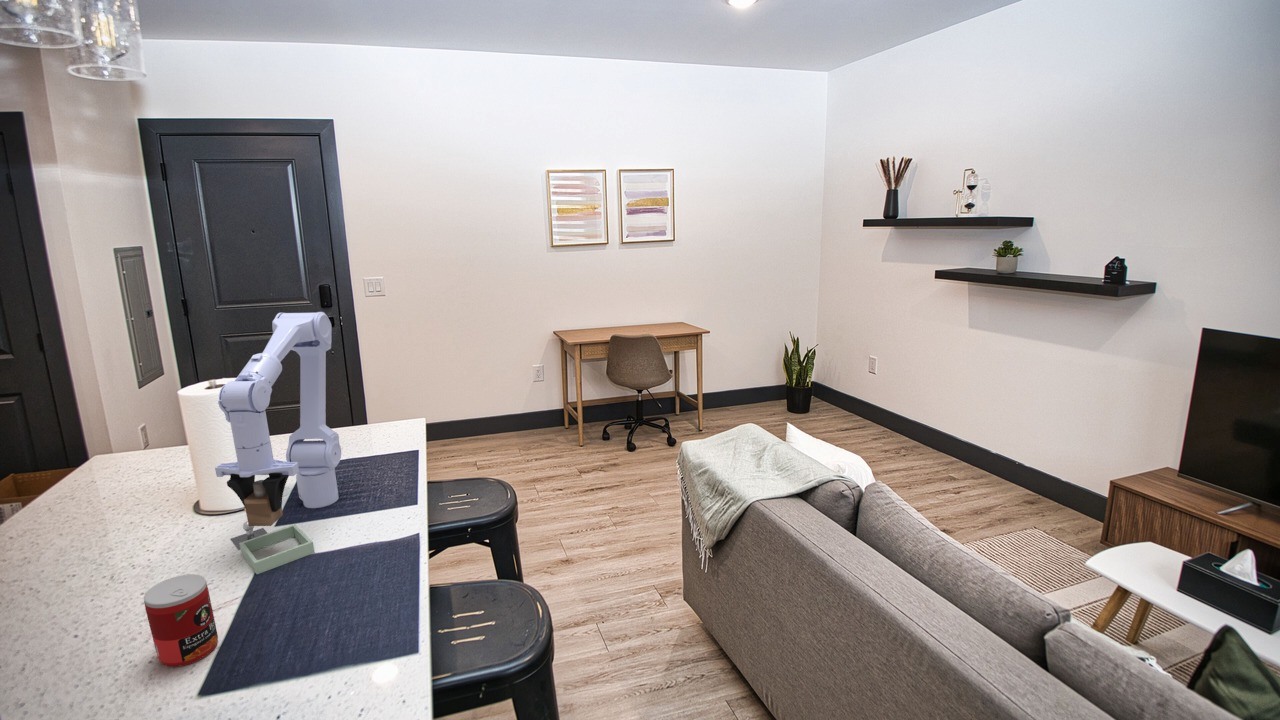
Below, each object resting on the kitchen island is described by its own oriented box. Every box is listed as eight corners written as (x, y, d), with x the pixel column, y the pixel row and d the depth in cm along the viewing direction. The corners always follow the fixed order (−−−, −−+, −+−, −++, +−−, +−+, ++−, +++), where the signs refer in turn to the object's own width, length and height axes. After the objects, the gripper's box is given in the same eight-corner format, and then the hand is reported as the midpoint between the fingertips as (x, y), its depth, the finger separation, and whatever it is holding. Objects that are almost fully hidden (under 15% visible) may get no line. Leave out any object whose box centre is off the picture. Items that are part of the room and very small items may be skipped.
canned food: (191, 671, 93) (176, 606, 90) (144, 665, 94) (128, 601, 91) (231, 636, 100) (219, 575, 97) (187, 631, 101) (174, 571, 99)
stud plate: (231, 544, 127) (226, 521, 126) (264, 532, 131) (260, 511, 130) (239, 555, 123) (234, 532, 122) (273, 543, 127) (269, 521, 126)
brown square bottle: (261, 515, 123) (254, 477, 121) (282, 515, 123) (276, 477, 121) (248, 526, 119) (241, 487, 117) (270, 525, 119) (264, 487, 117)
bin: (242, 559, 122) (239, 543, 121) (297, 539, 129) (295, 523, 128) (257, 580, 115) (254, 563, 114) (315, 557, 122) (312, 541, 121)
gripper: (199, 451, 113) (212, 520, 116) (279, 450, 113) (291, 519, 116) (224, 437, 120) (236, 502, 123) (300, 436, 120) (310, 501, 123)
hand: (264, 509), depth 120 cm, fingers closed on brown square bottle, 4 cm apart
